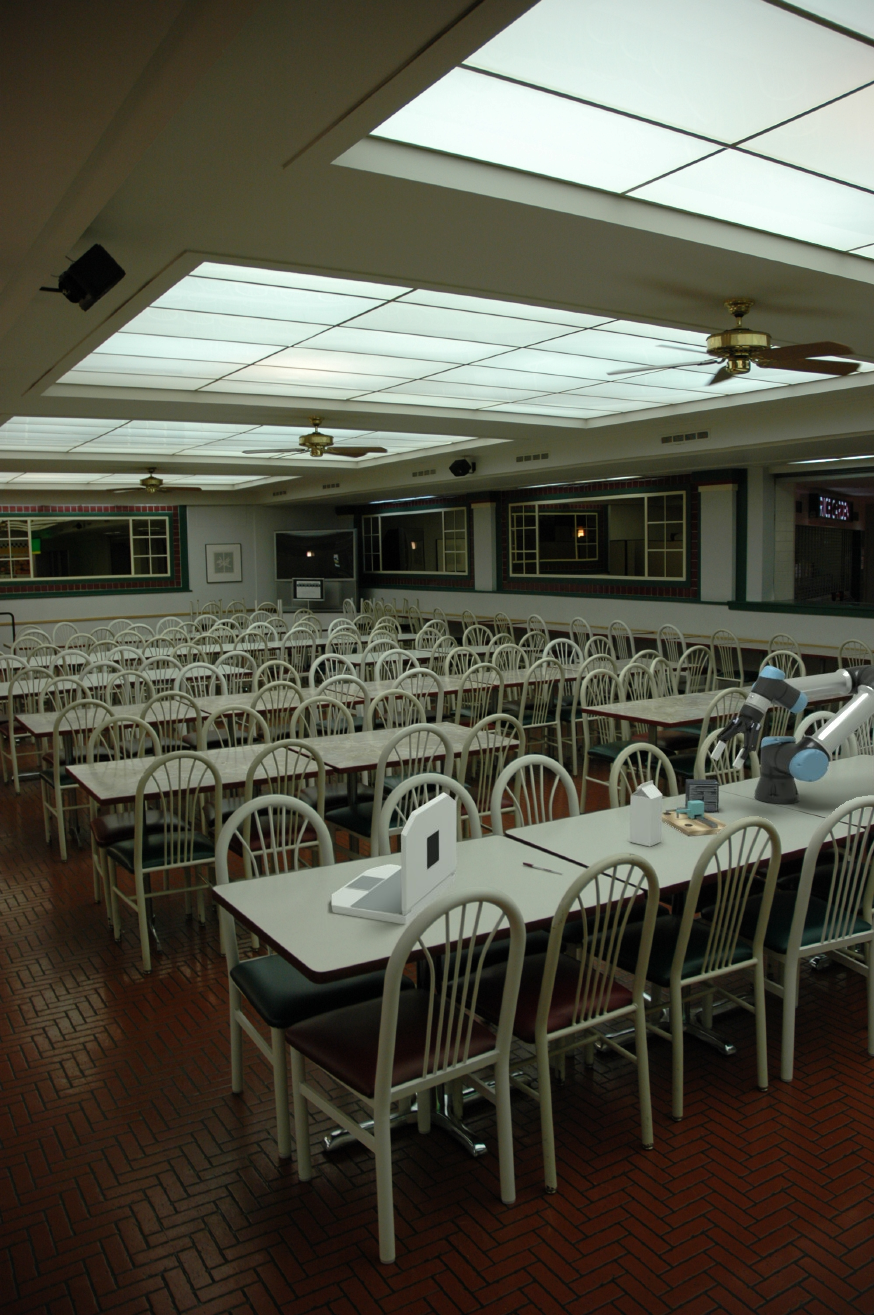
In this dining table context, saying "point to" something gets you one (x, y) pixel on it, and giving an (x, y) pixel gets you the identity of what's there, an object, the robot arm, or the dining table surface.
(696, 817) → the beam
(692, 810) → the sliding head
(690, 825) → the board
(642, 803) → the milk carton
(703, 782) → the small box
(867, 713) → the robot arm
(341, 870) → the dining table surface
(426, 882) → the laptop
